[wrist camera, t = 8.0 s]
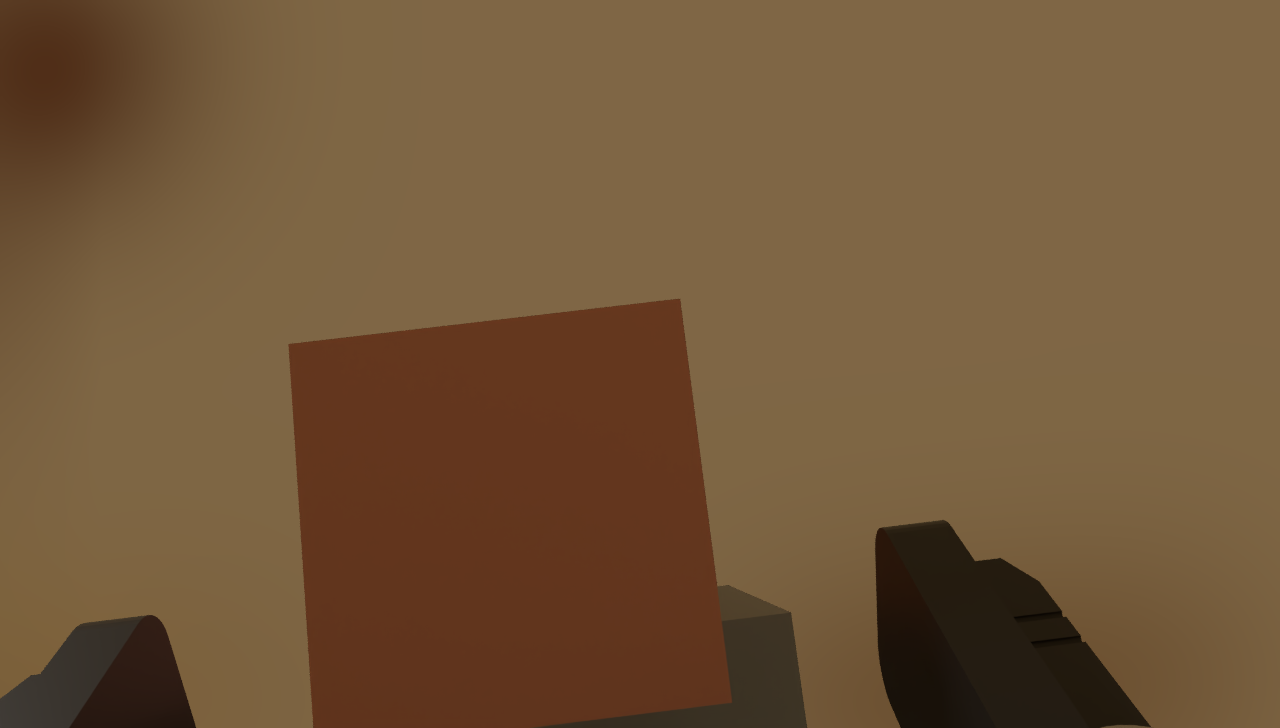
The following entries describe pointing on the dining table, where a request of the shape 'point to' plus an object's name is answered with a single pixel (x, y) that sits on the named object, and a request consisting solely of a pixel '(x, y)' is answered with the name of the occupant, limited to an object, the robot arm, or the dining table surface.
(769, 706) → the stand
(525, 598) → the bar
